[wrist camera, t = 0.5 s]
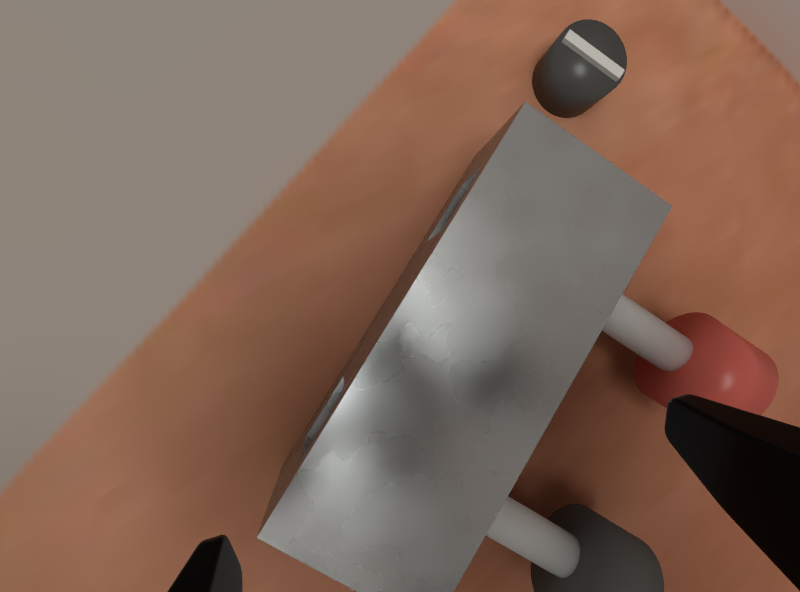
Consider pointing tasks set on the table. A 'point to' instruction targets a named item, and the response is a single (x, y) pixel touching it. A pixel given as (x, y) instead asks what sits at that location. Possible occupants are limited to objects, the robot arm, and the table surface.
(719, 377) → the red knob
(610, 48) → the dial
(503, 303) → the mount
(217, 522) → the table surface
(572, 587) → the black knob
